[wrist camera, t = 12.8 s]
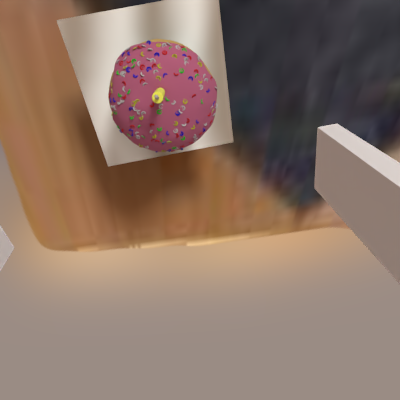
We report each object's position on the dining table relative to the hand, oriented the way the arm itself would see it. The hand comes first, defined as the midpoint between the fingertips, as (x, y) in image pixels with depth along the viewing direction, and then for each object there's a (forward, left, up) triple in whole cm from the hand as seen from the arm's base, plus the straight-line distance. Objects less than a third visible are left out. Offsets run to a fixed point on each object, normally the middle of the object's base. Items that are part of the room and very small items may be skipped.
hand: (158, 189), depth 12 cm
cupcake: (-1, 0, -19) cm, 19 cm away
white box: (0, 0, -26) cm, 27 cm away
